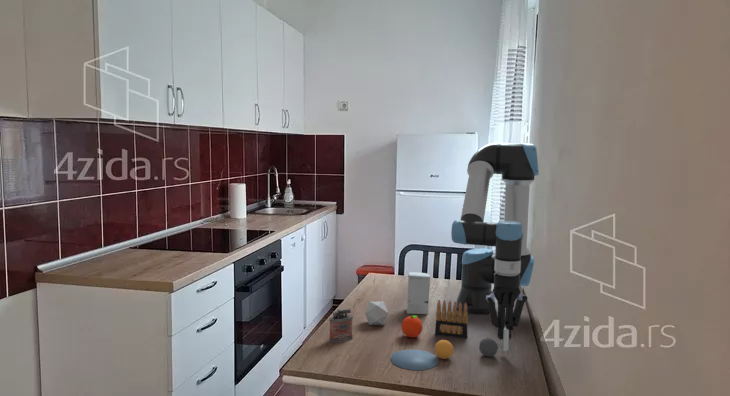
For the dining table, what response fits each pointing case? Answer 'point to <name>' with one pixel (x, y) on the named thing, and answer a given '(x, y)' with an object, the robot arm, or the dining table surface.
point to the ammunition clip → (451, 321)
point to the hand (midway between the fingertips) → (503, 348)
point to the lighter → (341, 326)
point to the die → (376, 313)
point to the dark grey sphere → (488, 347)
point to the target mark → (414, 359)
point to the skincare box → (418, 293)
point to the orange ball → (443, 349)
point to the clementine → (412, 326)
